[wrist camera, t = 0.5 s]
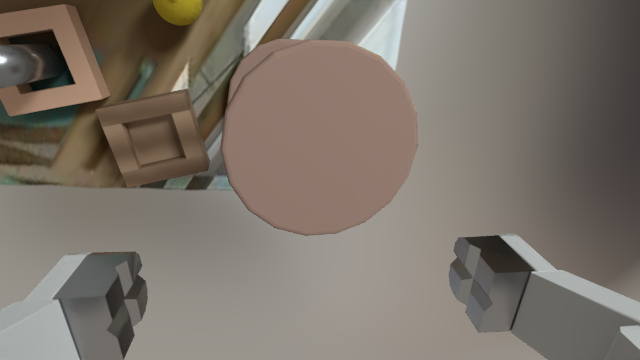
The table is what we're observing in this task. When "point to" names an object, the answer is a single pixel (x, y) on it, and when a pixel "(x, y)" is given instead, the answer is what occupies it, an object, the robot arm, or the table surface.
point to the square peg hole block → (154, 137)
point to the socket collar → (73, 48)
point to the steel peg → (29, 63)
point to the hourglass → (317, 134)
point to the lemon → (178, 10)
